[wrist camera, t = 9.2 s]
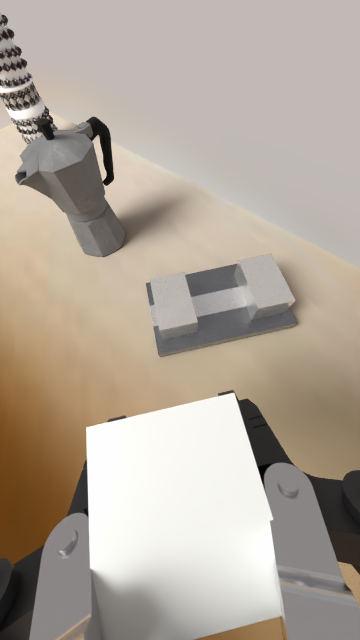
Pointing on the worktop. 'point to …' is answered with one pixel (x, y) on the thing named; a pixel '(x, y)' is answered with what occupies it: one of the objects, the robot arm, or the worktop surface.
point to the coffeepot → (75, 181)
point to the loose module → (179, 524)
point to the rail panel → (219, 305)
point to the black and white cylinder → (19, 88)
